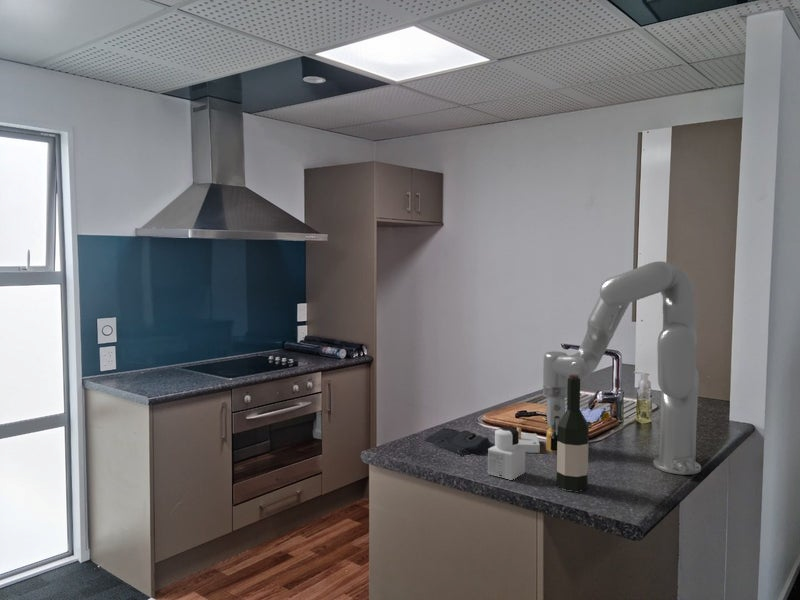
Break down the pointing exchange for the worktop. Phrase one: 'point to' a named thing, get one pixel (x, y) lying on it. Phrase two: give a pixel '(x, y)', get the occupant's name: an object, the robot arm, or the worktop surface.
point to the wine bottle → (572, 442)
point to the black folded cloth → (460, 442)
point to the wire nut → (549, 439)
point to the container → (506, 455)
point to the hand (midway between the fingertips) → (554, 446)
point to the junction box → (529, 442)
